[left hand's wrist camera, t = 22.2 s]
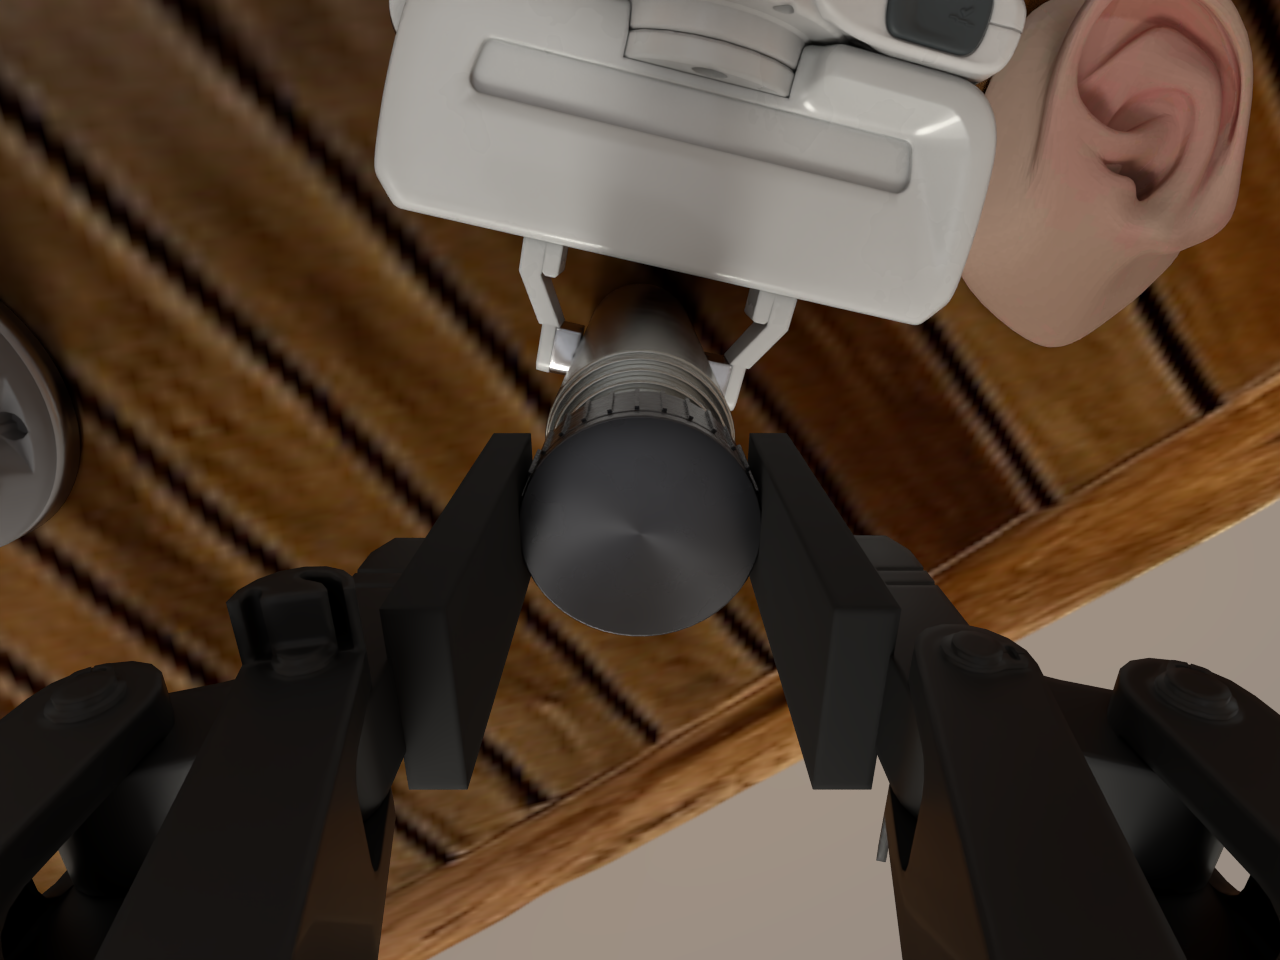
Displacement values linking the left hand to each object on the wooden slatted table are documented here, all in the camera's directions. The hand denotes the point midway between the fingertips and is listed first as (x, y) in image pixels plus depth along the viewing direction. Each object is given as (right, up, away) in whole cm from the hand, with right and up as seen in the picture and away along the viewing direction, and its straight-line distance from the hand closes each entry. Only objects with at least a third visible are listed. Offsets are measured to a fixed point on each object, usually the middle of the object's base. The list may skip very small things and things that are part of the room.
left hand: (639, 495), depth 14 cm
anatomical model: (+19, +13, +15) cm, 28 cm away
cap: (0, -1, -1) cm, 2 cm away
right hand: (0, +4, +12) cm, 13 cm away
